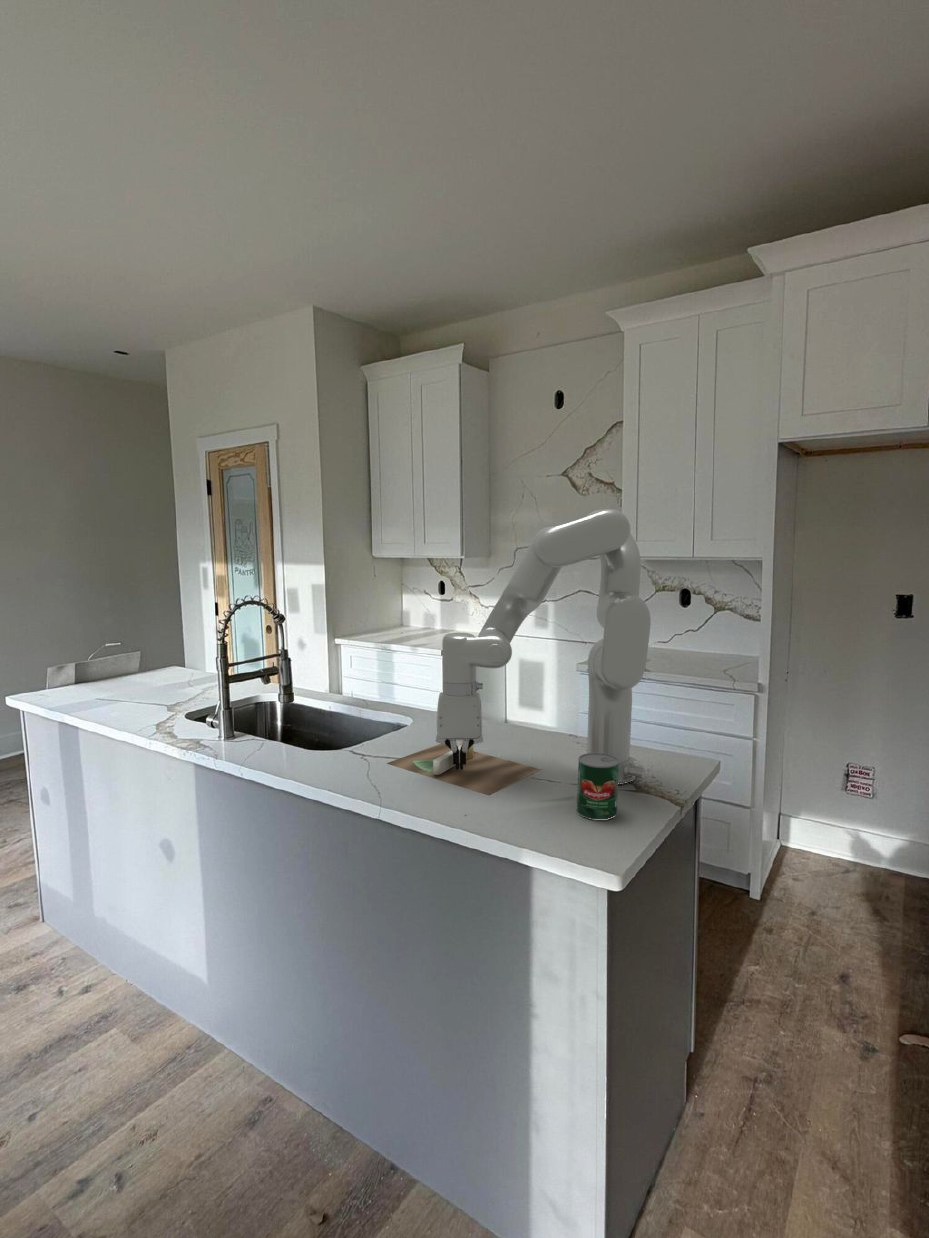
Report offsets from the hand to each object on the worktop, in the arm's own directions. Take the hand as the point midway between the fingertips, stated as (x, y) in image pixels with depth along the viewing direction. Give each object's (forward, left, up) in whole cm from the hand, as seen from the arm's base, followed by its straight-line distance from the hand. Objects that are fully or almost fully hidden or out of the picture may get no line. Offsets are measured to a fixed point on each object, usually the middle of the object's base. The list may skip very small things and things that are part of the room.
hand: (459, 767), depth 156 cm
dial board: (+1, -3, -2) cm, 4 cm away
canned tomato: (-34, -2, -2) cm, 34 cm away
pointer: (+3, -2, -1) cm, 4 cm away
